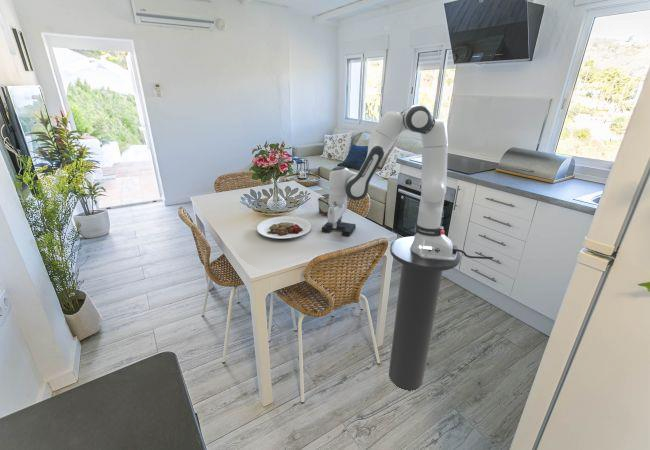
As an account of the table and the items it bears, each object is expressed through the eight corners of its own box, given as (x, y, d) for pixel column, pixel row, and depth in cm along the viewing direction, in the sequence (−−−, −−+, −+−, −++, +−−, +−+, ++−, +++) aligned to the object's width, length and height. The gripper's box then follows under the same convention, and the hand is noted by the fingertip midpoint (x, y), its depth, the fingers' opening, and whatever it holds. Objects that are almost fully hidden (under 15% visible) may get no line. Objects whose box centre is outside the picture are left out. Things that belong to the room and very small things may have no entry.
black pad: (355, 228, 179) (355, 224, 178) (349, 236, 169) (349, 231, 168) (329, 224, 184) (329, 220, 183) (321, 231, 174) (321, 227, 173)
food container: (336, 216, 196) (337, 201, 192) (328, 218, 193) (329, 202, 189) (325, 210, 206) (325, 195, 202) (317, 212, 203) (317, 197, 199)
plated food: (259, 219, 188) (259, 214, 186) (310, 218, 190) (310, 213, 189) (254, 242, 160) (253, 236, 159) (312, 240, 163) (312, 234, 161)
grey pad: (330, 225, 166) (330, 220, 165) (348, 227, 163) (348, 223, 162) (326, 229, 161) (326, 224, 160) (344, 232, 157) (344, 227, 156)
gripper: (336, 206, 146) (336, 233, 151) (349, 194, 164) (348, 219, 169) (324, 204, 148) (324, 231, 153) (338, 193, 166) (337, 218, 171)
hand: (337, 225), depth 161 cm, fingers closed on grey pad, 6 cm apart
